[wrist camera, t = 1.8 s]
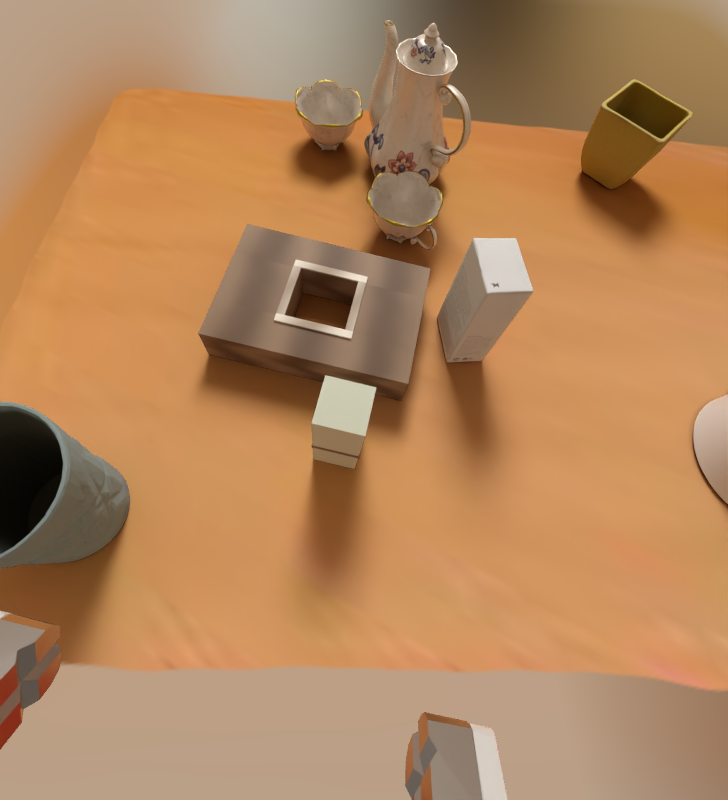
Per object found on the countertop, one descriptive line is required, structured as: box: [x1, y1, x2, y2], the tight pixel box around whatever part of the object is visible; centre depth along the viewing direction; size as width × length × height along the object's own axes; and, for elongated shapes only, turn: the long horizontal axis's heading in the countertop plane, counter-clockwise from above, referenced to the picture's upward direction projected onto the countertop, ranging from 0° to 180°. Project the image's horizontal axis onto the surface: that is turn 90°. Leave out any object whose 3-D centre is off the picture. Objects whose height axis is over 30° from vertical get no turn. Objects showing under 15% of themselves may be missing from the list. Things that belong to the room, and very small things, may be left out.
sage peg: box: [311, 375, 376, 469], centre depth 36 cm, size 4×4×10 cm
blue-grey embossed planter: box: [0, 402, 130, 568], centre depth 30 cm, size 10×10×12 cm
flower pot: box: [581, 80, 693, 189], centre depth 55 cm, size 9×9×9 cm
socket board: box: [198, 224, 431, 401], centre depth 43 cm, size 20×14×4 cm
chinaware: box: [295, 21, 471, 250], centre depth 48 cm, size 28×17×17 cm, turn 36°
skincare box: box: [437, 238, 533, 362], centre depth 41 cm, size 6×4×12 cm
